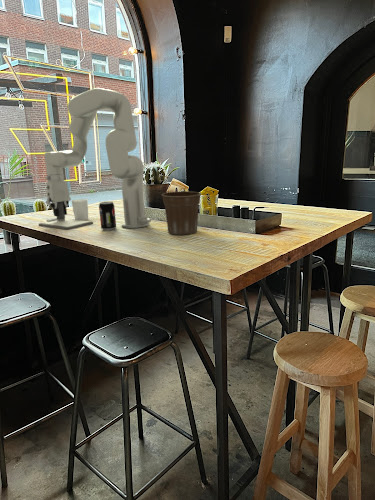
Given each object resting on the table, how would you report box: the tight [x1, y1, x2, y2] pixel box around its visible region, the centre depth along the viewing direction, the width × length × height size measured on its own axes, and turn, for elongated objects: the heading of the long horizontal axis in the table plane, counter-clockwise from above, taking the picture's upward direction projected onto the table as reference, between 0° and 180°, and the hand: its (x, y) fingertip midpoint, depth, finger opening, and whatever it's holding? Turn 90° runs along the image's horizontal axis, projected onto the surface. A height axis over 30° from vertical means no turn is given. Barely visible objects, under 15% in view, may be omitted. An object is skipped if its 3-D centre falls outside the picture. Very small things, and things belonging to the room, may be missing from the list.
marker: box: [56, 201, 66, 221], centre depth 184 cm, size 4×4×12 cm
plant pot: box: [161, 190, 202, 236], centre depth 153 cm, size 16×16×16 cm
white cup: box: [71, 198, 89, 221], centre depth 192 cm, size 8×8×10 cm
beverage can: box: [98, 201, 117, 231], centre depth 165 cm, size 7×7×12 cm
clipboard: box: [38, 217, 94, 231], centre depth 180 cm, size 22×15×2 cm
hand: (60, 215), depth 184 cm, fingers closed on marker, 4 cm apart
